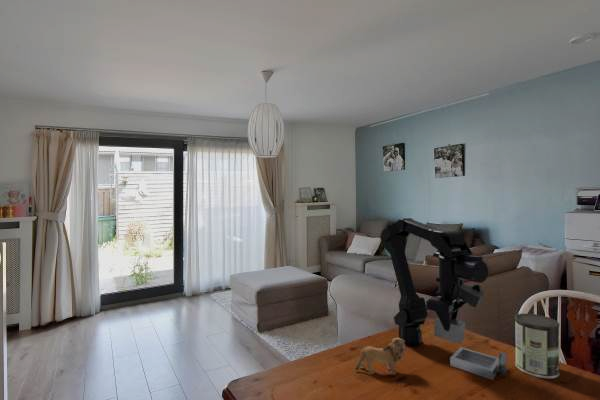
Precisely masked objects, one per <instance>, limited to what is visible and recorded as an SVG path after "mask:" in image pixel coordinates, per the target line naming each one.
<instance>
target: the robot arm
mask: <svg viewBox="0 0 600 400" xmlns="http://www.w3.org/2000/svg"><path fill="white" fill-rule="evenodd" d="M411 234H412V235H413V236H416V237H419V238H421V239H423V240H425V241H427V242H429V243H430V245H431V246H432V247H433V248H435V249H436V252H434V253H433V254H432V257H435V258H438V276H437V277H435V282H438V291H436V293H435V294H436V295H435V296H433V297H430V298H428V299H427V300H426V299H425V298H424V297H423V296H422V297H420V296H419V295H418V294H417V292H416V289H415V284H414V280H413V276H412V273H411V271H410V267H409V263H408V259H407V255H406V247H407V245H408V244H407V243H408V242H407V238H408V237H410V235H411ZM380 240H381V243H382V246H383V248H384V250H385V251H387V253H388V254H389V255H390V258H391V261H392V266H393V267H392V268H393V270H394V275H395V277H396V282H397V286H398V289H399V293H400V299H399V301H398V309H399V311H398V312H397V314H395V315H394V316H393V320H394V323H395V325H397V326H398V338H401V339H403V340H404V341H405V346H406V347H409V348H413V349H415V348H417V347H418V346H419V345H421V344H422V343H423V342H424V341H423V336H422V335H423V334H422V333H423V331H422V329H421V325H425V322H426V319H427V317H428V310H429V311H432V312H435V314H436V316H437V317H438V318H439V319H440V322H441V324H442V326H443V328H444V330H446V331H449V328H450V322H451V318H452V319H455V320H458V315H459V313H460V310H461V308H462V307H463V306H465V305H466V304H468V305H469V306H471V307H473V308H477V307H478V306H479V305H480V304H481V302H482V299H483V298H484V293H485V292H483V286H482V285H480V284H481V283H484V282H485V281H486V280H487V278H488V275H489V268H488V265H487V263H486V262H485V261H484V260H483V256H481V255H474V253H473V251H472V250H471V248H470V247H469V245H468V243H467V241H466V240H465V238H464V235H463V233H462V232H461V231H459V230H455V229H443V228H437V227H434V226H431V225H428V224H426V223H422V222H421V221H417V220H414V219H413V218H410V217H409V218H408V217H407V218H400V219H398V220H397V221H396V222H394V223H392V224H391V225H389V226H387V227H386V228H384V229H382V231H381V233H380ZM465 280H467V281H471V282H475V283H476V284H474V285H473V286H471V285H467V284H465ZM425 300H426V301H425Z"/></svg>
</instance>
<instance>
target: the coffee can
mask: <svg viewBox="0 0 600 400" xmlns="http://www.w3.org/2000/svg"><path fill="white" fill-rule="evenodd" d="M514 321H515V328H514V330H515V333H514V334H515V342H514V343H515V363H514V365H515V367H516V368H517V369H518V370H519V371H521V372H523V373H525V374H527V375H530V376H531V377H536V378H539V379H546V380H547V379H550V380H551V379H552V380H553V379H557V378H558V377H559V376H560V363H559V362H560V351H559V350H560V343H559V342H560V337H559V336H560V330H559V329H560V323H559V321H557V320H555V319H554V318H551V317H548V316H545V315H541V314H535V313H534V314H533V313H518V314H517V313H516V314H515V315H514Z"/></svg>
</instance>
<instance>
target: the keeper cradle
mask: <svg viewBox="0 0 600 400" xmlns="http://www.w3.org/2000/svg"><path fill="white" fill-rule="evenodd" d="M449 361H450V363H449V365H450V367H452V368H456V369H458V370H461V371H465V372H467V373H471V374H473V375H477V376H479V377H482V378H484V379H489V380H492V381H493V380H494V379H495V378H496V376H497V375H499V376H500V377H502V378H506V377H507V353H506V352H503V351H498V357H497V356H493V355H489V354H486V353H483V352H479V351H475V350H473V349H469V348H466V347H462V346H460V347H459V348H458V349H457V350H456V351H455V352H454V353H453V354H452V355H451V356H450V357H449Z"/></svg>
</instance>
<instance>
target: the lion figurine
mask: <svg viewBox="0 0 600 400" xmlns="http://www.w3.org/2000/svg"><path fill="white" fill-rule="evenodd" d="M406 347H407V346H406V345H405V341H404V340H403V339H401V338H399V337H395V338H392V340H391V342H390V343H388V345H386V346H385V347H383V348H382V347H381V348H378V347H374V346H371V345H369V346H366V347H364V348H363V349H362V350H361V352H360V355H359V359H358V364H357V366H356V367H355V368H354V370H355V371H358V370H359V369H364V368H365V366H364V365H363V363H365V361H366V362H367V366H366V368H367V370H368V372H369V374H371V375H375V370H372V369H371V368H372V364H373V362H374V360H375V361H377V362H379V363H386V368H387V369H388V370H390V372H391V374H393V375H397V371H396V370H395V367H396V363H397V362H400V361H401V360H402V358H403V356H404V355H405V351H406Z"/></svg>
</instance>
